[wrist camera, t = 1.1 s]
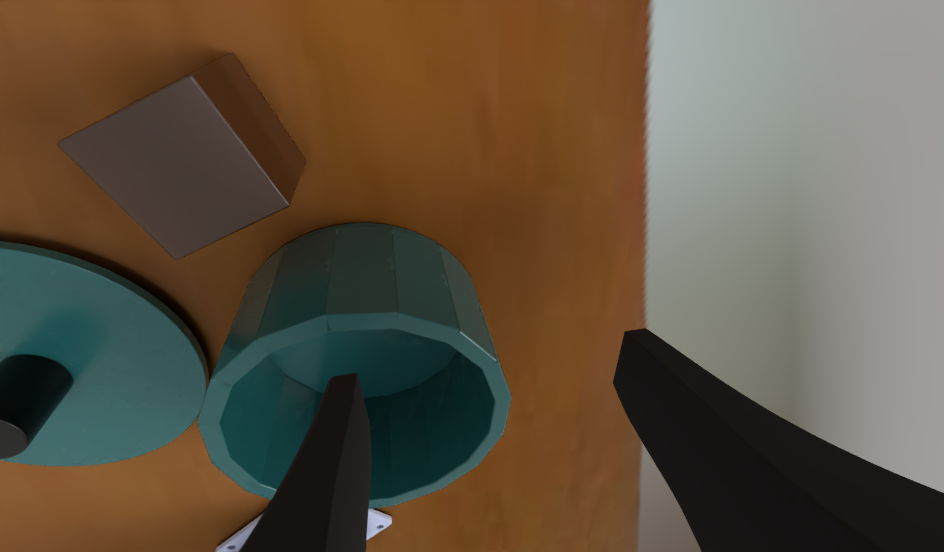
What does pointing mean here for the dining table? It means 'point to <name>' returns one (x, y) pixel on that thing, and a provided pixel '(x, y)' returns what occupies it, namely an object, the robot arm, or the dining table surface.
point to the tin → (358, 361)
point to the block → (193, 158)
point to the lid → (89, 363)
